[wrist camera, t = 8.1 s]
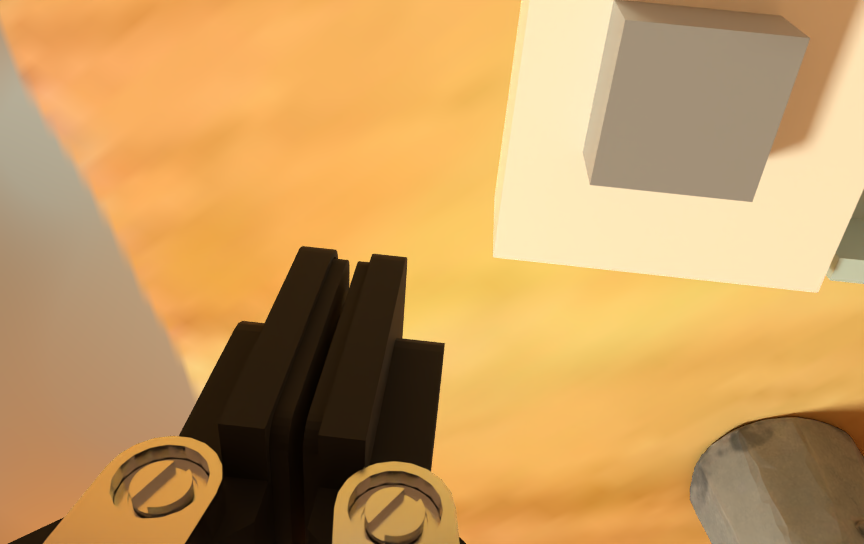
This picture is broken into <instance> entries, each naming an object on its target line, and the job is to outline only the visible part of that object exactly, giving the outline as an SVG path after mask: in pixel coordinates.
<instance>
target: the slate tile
mask: <svg viewBox="0 0 864 544" xmlns="http://www.w3.org/2000/svg"><path fill="white" fill-rule="evenodd" d="M809 40H810V37H808V36H807V35H806V34H804V33H803V32H802V31H800V30H799V29H798V28H797V27H795V26H794V25H793V24H791V23H790V22H789V21H788V20H786V19H785V18H784V17H782V16H781V15H770V14H760V13H750V12H740V11H730V10H719V9H709V8H699V7H689V6H679V5H669V4H658V3H648V2H638V1H628V0H614V1H613V6H612V11H611V15H610V20H609V25H608V30H607V35H606V40H605V45H604V50H603V55H602V60H601V65H600V70H599V75H598V80H597V84H596V89H595V94H594V99H593V104H592V109H591V114H590V119H589V124H588V129H587V134H586V139H585V144H584V148H583V156H584V161H585V165H586V170H587V175H588V179H589V184H590V185H594V186H604V187H613V188H623V189H632V190H642V191H651V192H661V193H670V194H680V195H689V196H698V197H708V198H717V199H727V200H736V201H746V202H753V199H754V196H755V193H756V190H757V188H758V185H759V182H760V179H761V176H762V173H763V171H764V168H765V165H766V162H767V159H768V156H769V154H770V151H771V148H772V145H773V142H774V139H775V137H776V134H777V131H778V128H779V125H780V122H781V120H782V117H783V114H784V111H785V108H786V106H787V103H788V100H789V97H790V94H791V91H792V89H793V86H794V83H795V80H796V77H797V74H798V72H799V69H800V66H801V63H802V60H803V57H804V55H805V52H806V49H807V46H808V43H809Z"/></svg>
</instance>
